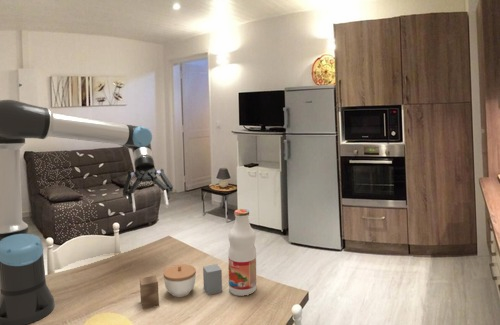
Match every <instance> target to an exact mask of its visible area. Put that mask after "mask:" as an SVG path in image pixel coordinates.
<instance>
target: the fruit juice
mask: <svg viewBox="0 0 500 325" xmlns="http://www.w3.org/2000/svg"><path fill="white" fill-rule="evenodd" d="M233 213H234V217H235V219H234V223H233V225H232V228H231V229H230V231H229V233H228V241H229V247H228V255H227V256H228V289H229V292H230V293H231V294H232V295H234V296H238V297H239V296H240V297H245V296H244V295H247V296H250V295H249V294H251V293H253V292H254V291H255V292H256V291H257V290H256V289H257V248H256V245H255V242H256V239H257V236H256V231H255V230H254V229H253V227H252V226H251V224H250V219H249V216H250V210H249V209H246V208H240V209H239V208H238V209H236V210H234V212H233ZM255 292H254V293H255ZM254 293H253V294H254ZM251 295H252V294H251Z"/></svg>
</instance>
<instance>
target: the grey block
mask: <svg viewBox="0 0 500 325" xmlns="http://www.w3.org/2000/svg"><path fill="white" fill-rule="evenodd" d="M202 273H203V275H202V276H203V278H202V280H203V290H204V292H206V294H207V296H211V295H214V294H219V293H222V292H223V278H222V274H223V273H222V268H221V267H220V266H219V265H218V264H217V263H216V264H211V265H204V266H202Z"/></svg>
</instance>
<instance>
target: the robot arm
mask: <svg viewBox="0 0 500 325" xmlns="http://www.w3.org/2000/svg"><path fill="white" fill-rule="evenodd" d="M48 137H50V138H59V139H66V140H67V139H68V140H75V141H76V140H77V141H84V142H94V143H103V144H104V143H105V144H113V145H118V146H121V147H124V148H126V149H129V150H131V151H132V156H133V164H134V171H133V172H131V171H130V170H129V171H127V174H126V175H127V178H126V180H125V183H124V187H123V189H122V196H123V197H128V203H129V204H131V205H132V211H133V213H135V212H136V210H137V209H136V201H135V200H136V199H135V193H134V192H135V191H136V190H137V189H138V187H139V185H140V184H141V183H147V182H150V183H151V182H152V183H153V184H155V185H156V186H157V187H158V188H159V189H161V190H162V191H163V200H164V205H165V209H169V201H170V199H171V195H170V192H173V190H174V185H173V184H172V183H171V182H170V180H169V178H168V176H167V175H166V174H165V171H164V168H160V169H159V170H156V168H155V162H154V157H153V156H154V155H153V150H152V145H151V143H152V139H153V134H152V131H151V130H150V129H149V128H148V127H146V126H142V125H138V126H137V125H131V124H124V123H120V122H112V121H107V120H102V119H101V120H100V119H95V118H88V117H83V116H76V115H70V114H65V113H64V114H63V113H59V112H52V111H51V110H50V109H49V108H48V107H42V106H38V105H33V104H29V103H25V102H22V101H18V100H15V99H0V325H29V324H33V323H34V322H37V321H39V320H41V319H43V318H45V317H47V316H48V315H49V314H51V313H52V311H53V310H54V309H55V298H54V296H53V295H52V292H51V291H50V289H49V287H48V285H47V282H46V270H45V261H44V260H45V259H44V245H43V243H42V242H43V241H42V239H41V238H40V237H39V236H38V235H36V234H33V233H30V234H29V224H27V223H26V222H25V221H24V220H23V200H22V199H23V198H22V176H21V175H22V174H21V173H22V172H21V148H22V147H23V146H25V144H26V139H40V140H45V139H47V138H48ZM157 175H158V176H159V177H160V178H161V180H162V181H161V180H160V179H159V178H158V176H157ZM134 177H135V178H136V179H135V181H134V183H133V184H132V185H131V187H130V184H131V180H132V179H133V178H134Z"/></svg>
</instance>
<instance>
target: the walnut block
mask: <svg viewBox="0 0 500 325" xmlns="http://www.w3.org/2000/svg"><path fill="white" fill-rule="evenodd" d="M139 290H140V303H141V307H142V310H146V309H150V308H155V307H160V297H159V281H158V279H157V275H156V274H155V275H149V276H145V277H140V278H139Z"/></svg>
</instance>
